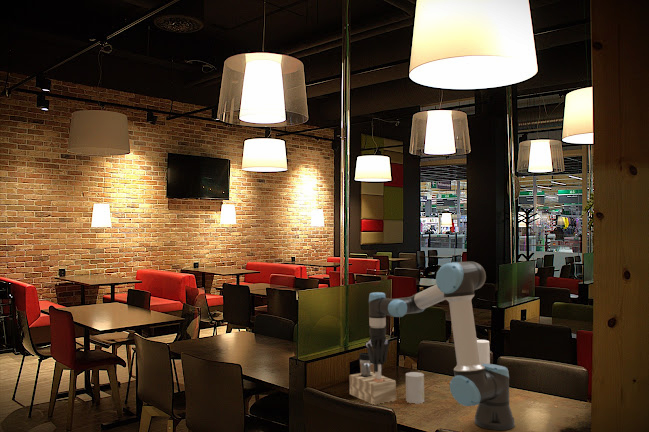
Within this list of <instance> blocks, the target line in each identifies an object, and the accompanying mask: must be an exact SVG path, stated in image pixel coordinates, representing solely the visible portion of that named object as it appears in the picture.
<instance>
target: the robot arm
mask: <svg viewBox="0 0 649 432" xmlns="http://www.w3.org/2000/svg"><path fill="white" fill-rule="evenodd" d="M486 275H487V274H486V271H485V269H484V267H483V266H482V265H481V264H480V263H478V262H475V261H472V260H471V261H469V260H468V261H452V262H448V263H444V264H442V265H441V266H440V268H439V269H438V270H437V272H436V276H435V284H434V285H432V286H430V287H428V288H426V289H424V290H422V291H419V292H417V293H415V294H413V295H412V296H407V297H399V298H390V297H389V298H388V297H386V293H385V292H380V291H379V292H378V291H376V292H370V293H369V296H368V317H369V318H368V319H369V331H368V332H369V334H368V335H369V339H368V341H367V342H365V343H364V346H365V347H366V350H367V353H368V355H369V360H370V363H372V364H374V373H375V378H376V379H381V376H382V371H383V365H385V363H387V358H388V353H389V347H390V344H391V340H388V339H387V338H386V337H387V336H386V335H387V327H386V325H387V319H386V317H387V316H389V317H394V318H402V317H404V316H405V315H409V314H418V313H422V312H424V311H425V310H426V309H427V308H429V307H432V306H434V305H437V304H438V303H440V302H444V301H447V302H448V305H449V312H450V321H451V328H452V335H453V343H454V351H455V358H456V359H455V360H456V366H455V367H454V368H453V373H454V376H453V377H452V378H451V380H450V382H449V390H450V393H451V395H452V397H453V399H454V400H455V401H456V402H457V403H458V404H460V405H461V406H464V407H472V406H477V408H476V412H475V415H474V424H475V425H476V426H478V427H480V428H482V429H486V430H489V431H491V430H492V431H507V430H512V429H513V428H514V427H515V426H516V425H515V423H516V422H515V418H514V417H513V412H512V409H511V406H510V374H509V370H508V367H506V366H503V365H498V364H493V363H490V364H481V363H480V359H479V352H478V345H477V340H478V338H477V331H476V325H475V324H476V323H475V317H474V311H473V310H474V309H473V304H472V299H473V298H474V297H475V291H476V290H478V289H481V288H482V287H483V286H484V284H485V282H486V280H487V276H486Z"/></svg>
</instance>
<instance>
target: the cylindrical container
mask: <svg viewBox="0 0 649 432" xmlns="http://www.w3.org/2000/svg"><path fill="white" fill-rule="evenodd" d="M477 345H478V352H479V359H480V363H481V364H491V355H490V353H491V352H490V350H491V349H490V341H489V340H487V339H477Z"/></svg>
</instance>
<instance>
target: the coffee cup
mask: <svg viewBox="0 0 649 432" xmlns="http://www.w3.org/2000/svg"><path fill="white" fill-rule="evenodd" d="M358 360H359V368H360V372H361V362H370V360H369V355H368V352H359V355H358ZM370 372H373V373H375V371H374V364H372V363H370Z"/></svg>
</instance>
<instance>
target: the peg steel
mask: <svg viewBox="0 0 649 432" xmlns="http://www.w3.org/2000/svg"><path fill="white" fill-rule="evenodd" d="M360 373H361V376H362V377H370V376H371V372H370V362H361V371H360Z"/></svg>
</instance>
